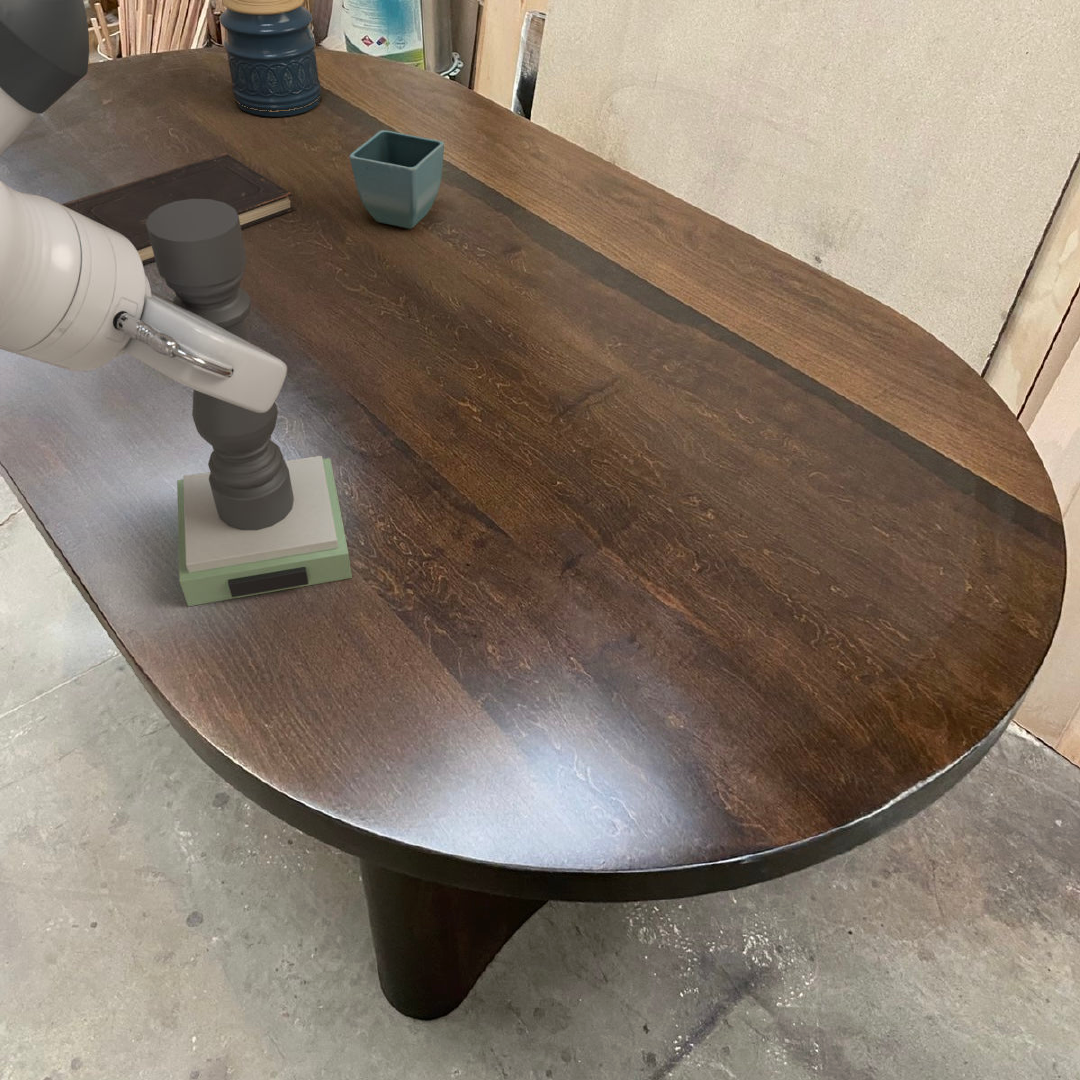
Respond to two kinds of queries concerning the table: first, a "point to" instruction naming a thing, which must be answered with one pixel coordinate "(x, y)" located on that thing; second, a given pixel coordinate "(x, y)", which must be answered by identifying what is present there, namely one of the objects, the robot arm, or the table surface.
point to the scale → (261, 540)
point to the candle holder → (213, 293)
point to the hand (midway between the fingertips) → (230, 355)
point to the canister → (271, 56)
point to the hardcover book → (184, 198)
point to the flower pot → (398, 176)
